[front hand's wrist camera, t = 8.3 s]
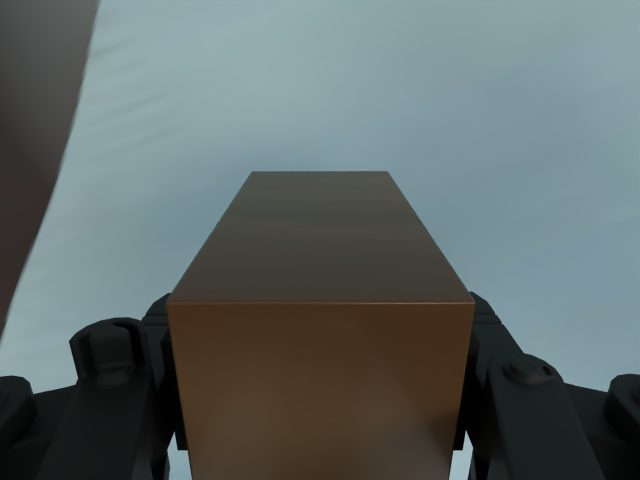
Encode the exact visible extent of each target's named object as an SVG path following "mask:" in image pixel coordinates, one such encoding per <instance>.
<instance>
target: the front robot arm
mask: <svg viewBox="0 0 640 480" xmlns="http://www.w3.org/2000/svg"><path fill="white" fill-rule="evenodd" d="M469 293H470V294H471V296H472V297H473V299H474V300H475V308H474V315H473V321H472V328H471V335H470V341H469V348H468V355H467V362H466V368H465V375H464V382H463V388H462V395H461V402H460V409H459V415H458V422H457V429H456V435H455V442H454V449H453V450H463V444H464V438H465V432H466V431H467V433H468V436H469V438H470V441H471V443H472V446H473V452H472V458H471V464H470V469H469V475H468V480H640V375H636V374H624V375H618V376H617V377H615V378H614V379H613V380H612V381H611V383H610V386H609V390H608V392H603V391H598V390H593V389H589V388H584V387H579V386H575V385H571V384H567V383H564V382H563V379H562V377H561V376H560V375H559V373H558V372H557V370H556V369H555V368H554V367H552V366H551V365H549V364H548V363H547V362H545V361H544V360H541V359H539V358H537V357H535V356H532V355H529V354H525V353H523V351H522V350H521V349H520V347H519V346H518V344H517V343H516V342H515V340H514V339H513V337H512V336H511V335H510V333H509V332H508V330H507V329H506V327H505V326H504V325H503V324H502V322H501V320H500V319H499V318H498V316H497V315H495V312H494V311H493V309H492V308H491V306H490V305H489V304H488V302H487V301H486V300H484V299H483V298H481V297H480V296H478V295H477V294H475V293H474V292H469ZM170 295H171V293H167V294H166V295H164V296H163V297H161V298H160V299H158V300H157V301H155V302H154V303H153V304H152V306H151V307H150V309H149V310H148V311H147V313H146V316H144V317H143V318H142V320H141V321H140V320H137V319H133V318H129V317H124V318H111V319H106V320H101V321H99V322H96V323H93V324H91V325H88V326H86V327H85V328H83V329H82V330H80V331H78V332H77V333H76V334H75V335H74V336H73V337H72V338H71V339H70V341H69V344H70V348H71V351H72V355H73V359H74V363H75V367H76V371H77V375H78V380H77V382H76V385H72V386H69V387H65V388H60V389H56V390H51V391H46V392H41V393H36V394H33V392H32V388H31V385H30V382H28V381H27V380H26V379H25V378H23V377H18V376H3V377H0V480H169V471H170V465H169V458H168V452H167V449H168V446H169V444H170V441H171V439H172V436H173V434H174V431H175V437H176V443H177V449H178V450H188V449H187V443H186V436H185V429H184V423H183V416H182V410H181V403H180V396H179V390H178V383H177V376H176V370H175V363H174V357H173V350H172V343H171V337H170V330H169V323H168V317H167V310H166V304H165V303H166V301H167V299H168V298H169V296H170Z"/></svg>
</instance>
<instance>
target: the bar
mask: <svg viewBox="0 0 640 480" xmlns="http://www.w3.org/2000/svg"><path fill="white" fill-rule="evenodd" d="M165 304H166V310H167V317H168V323H169V330H170V337H171V343H172V350H173V357H174V363H175V370H176V376H177V383H178V390H179V396H180V403H181V410H182V416H183V423H184V429H185V436H186V443H187V449H188V456H189V462H190V469H191V476H192V480H449V476H450V469H451V462H452V456H453V449H454V442H455V435H456V429H457V422H458V415H459V409H460V402H461V395H462V388H463V382H464V375H465V368H466V362H467V355H468V348H469V341H470V335H471V328H472V321H473V315H474V308H475V300H474V299H473V297H472V296H471V294H470V293H469V292H468V290H467V289H466V287H465V286H464V284H463V283H462V281H461V280H460V278H459V277H458V275H457V274H456V272H455V271H454V269H453V268H452V266H451V265H450V263H449V262H448V260H447V259H446V257H445V256H444V254H443V253H442V251H441V250H440V248H439V247H438V245H437V244H436V243H435V241H434V240H433V238H432V237H431V235H430V234H429V232H428V231H427V229H426V228H425V226H424V225H423V223H422V222H421V220H420V219H419V217H418V216H417V214H416V213H415V211H414V210H413V208H412V207H411V205H410V204H409V202H408V201H407V199H406V198H405V196H404V195H403V194H402V192H401V191H400V189H399V188H398V186H397V185H396V183H395V182H394V180H393V179H392V177H391V176H390V174H389V173H388V172H387V171H291V172H251V174H250V175H249V177H248V178H247V180H246V181H245V183H244V184H243V186H242V187H241V189H240V190H239V192H238V193H237V195H236V196H235V198H234V199H233V201H232V202H231V204H230V205H229V207H228V208H227V210H226V211H225V213H224V215H223V216H222V218H221V219H220V221H219V222H218V224H217V225H216V227H215V228H214V230H213V231H212V233H211V234H210V236H209V237H208V239H207V240H206V242H205V243H204V245H203V246H202V248H201V249H200V251H199V252H198V254H197V255H196V257H195V258H194V260H193V261H192V263H191V264H190V266H189V267H188V269H187V270H186V272H185V273H184V275H183V276H182V278H181V279H180V281H179V282H178V284H177V285H176V287H175V288H174V290H173V291H172V293H171V295H170V296H169V298H168V299H167V301H166V303H165Z"/></svg>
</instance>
